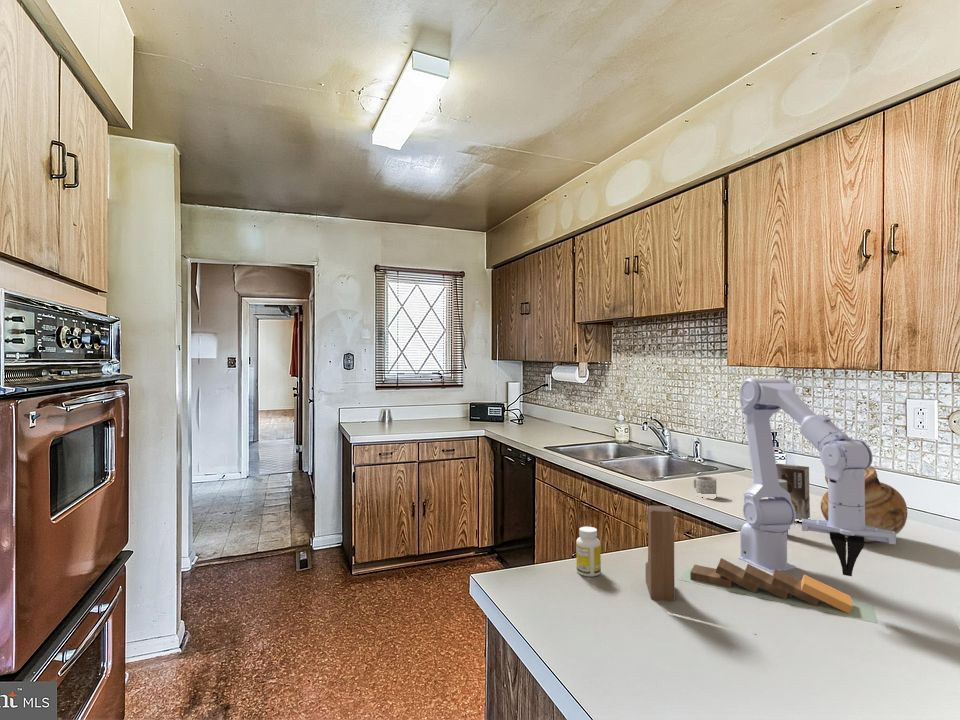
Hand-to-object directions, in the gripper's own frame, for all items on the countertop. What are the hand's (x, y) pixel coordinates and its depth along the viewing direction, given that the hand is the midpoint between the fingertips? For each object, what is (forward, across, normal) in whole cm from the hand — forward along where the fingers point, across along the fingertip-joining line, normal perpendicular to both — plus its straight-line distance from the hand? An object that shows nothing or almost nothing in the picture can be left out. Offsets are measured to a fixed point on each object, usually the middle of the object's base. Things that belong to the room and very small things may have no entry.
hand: (847, 573), depth 96 cm
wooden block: (+7, -32, -12) cm, 35 cm away
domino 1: (+6, -20, 0) cm, 21 cm away
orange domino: (+6, 0, 0) cm, 6 cm away
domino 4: (+6, -5, 0) cm, 7 cm away
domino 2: (+6, -15, 0) cm, 16 cm away
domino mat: (+7, -13, 0) cm, 15 cm away
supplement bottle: (+7, -48, -10) cm, 50 cm away
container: (+7, -13, +44) cm, 46 cm away
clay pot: (+7, +6, +52) cm, 53 cm away
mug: (+7, -38, +78) cm, 87 cm away
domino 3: (+6, -10, 0) cm, 11 cm away
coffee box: (+7, -11, +63) cm, 64 cm away
